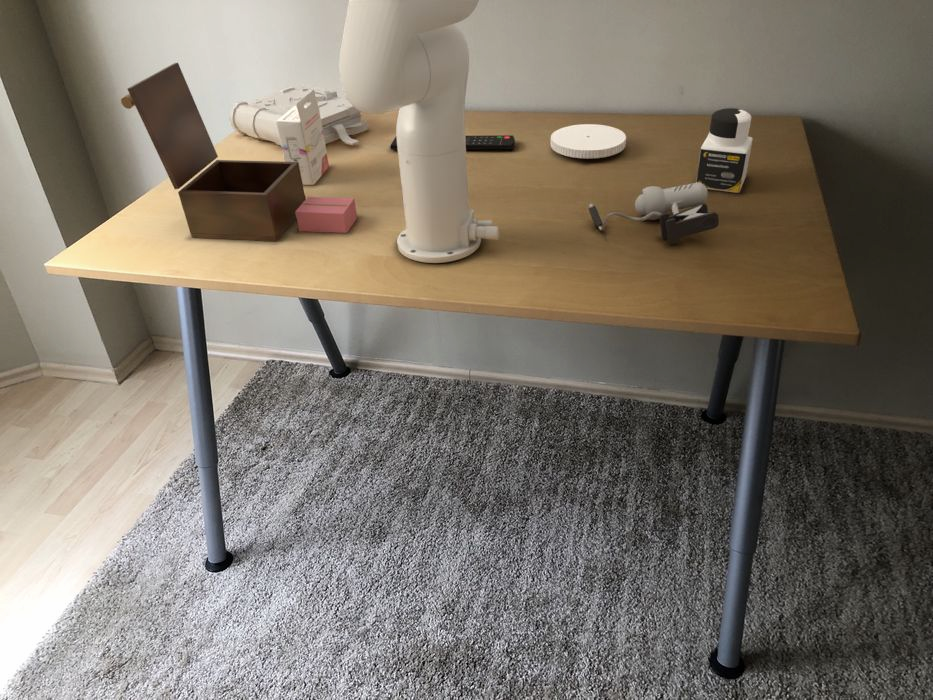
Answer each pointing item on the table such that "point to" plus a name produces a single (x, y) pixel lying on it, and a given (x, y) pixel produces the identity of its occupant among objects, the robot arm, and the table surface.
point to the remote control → (482, 142)
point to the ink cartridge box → (304, 139)
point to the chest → (243, 200)
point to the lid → (172, 123)
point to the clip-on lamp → (671, 199)
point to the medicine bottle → (726, 151)
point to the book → (266, 111)
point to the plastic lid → (588, 141)
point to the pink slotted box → (326, 214)
